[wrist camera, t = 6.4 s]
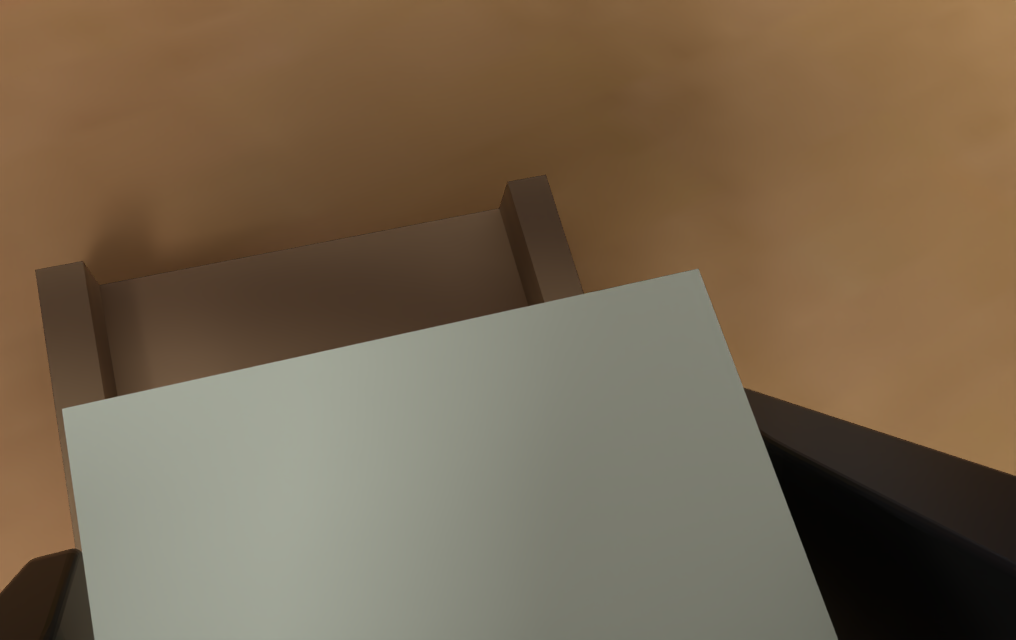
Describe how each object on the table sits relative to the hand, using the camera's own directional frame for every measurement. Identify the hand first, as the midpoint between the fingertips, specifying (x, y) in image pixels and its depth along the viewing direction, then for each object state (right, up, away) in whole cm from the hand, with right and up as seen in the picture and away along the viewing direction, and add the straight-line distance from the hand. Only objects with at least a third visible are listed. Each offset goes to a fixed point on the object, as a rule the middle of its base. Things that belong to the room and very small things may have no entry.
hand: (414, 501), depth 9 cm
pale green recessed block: (-1, -4, +8) cm, 9 cm away
